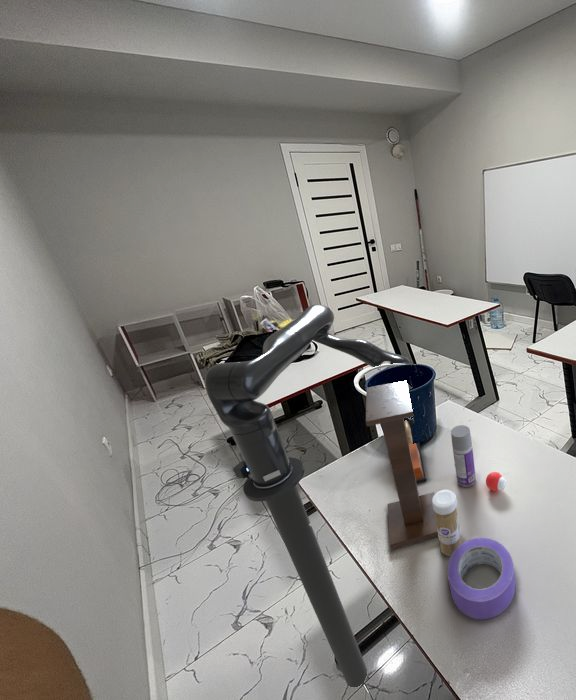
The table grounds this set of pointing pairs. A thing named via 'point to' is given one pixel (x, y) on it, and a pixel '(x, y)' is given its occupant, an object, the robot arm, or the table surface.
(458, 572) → the tape roll
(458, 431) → the container
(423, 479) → the drying mat
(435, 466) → the table surface
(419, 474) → the copper block with handle
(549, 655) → the table surface
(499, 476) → the molecule
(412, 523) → the wooden pedestal stand
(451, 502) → the sprinkles bottle
